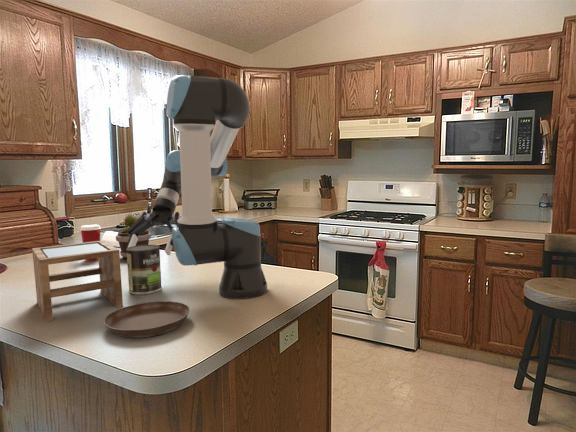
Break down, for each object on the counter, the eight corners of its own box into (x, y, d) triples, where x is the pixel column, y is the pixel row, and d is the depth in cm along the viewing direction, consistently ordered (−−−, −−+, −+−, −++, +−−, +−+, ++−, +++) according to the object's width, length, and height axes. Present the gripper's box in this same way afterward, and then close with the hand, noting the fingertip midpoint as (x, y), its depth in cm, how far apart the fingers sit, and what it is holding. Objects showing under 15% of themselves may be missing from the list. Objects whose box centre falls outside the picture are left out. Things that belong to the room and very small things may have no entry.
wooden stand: (122, 305, 121) (119, 249, 119) (45, 321, 109) (39, 260, 107) (106, 290, 136) (103, 240, 134) (37, 302, 125) (32, 248, 123)
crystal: (94, 238, 215) (124, 242, 202) (105, 229, 220) (134, 233, 207) (102, 249, 219) (131, 253, 206) (112, 240, 224) (141, 244, 211)
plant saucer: (86, 332, 103) (85, 319, 102) (153, 307, 120) (152, 296, 120) (142, 350, 92) (141, 335, 91) (206, 320, 109) (206, 307, 109)
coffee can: (168, 288, 138) (166, 246, 136) (143, 296, 129) (140, 251, 127) (147, 283, 143) (145, 243, 141) (121, 291, 134) (118, 248, 133)
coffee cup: (107, 258, 183) (104, 225, 181) (89, 262, 176) (87, 227, 174) (95, 256, 187) (93, 223, 186) (78, 260, 181) (75, 226, 179)
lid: (108, 253, 119) (108, 250, 119) (49, 261, 111) (48, 258, 110) (97, 246, 131) (96, 243, 131) (42, 252, 123) (42, 249, 123)
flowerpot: (157, 257, 184) (154, 212, 181) (120, 262, 175) (117, 215, 173) (147, 252, 196) (145, 209, 193) (113, 256, 187) (110, 212, 185)
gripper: (201, 210, 153) (186, 259, 140) (138, 209, 157) (118, 257, 144) (195, 196, 147) (179, 247, 134) (129, 196, 151) (108, 245, 139)
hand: (148, 252), depth 139 cm, fingers open, 13 cm apart
